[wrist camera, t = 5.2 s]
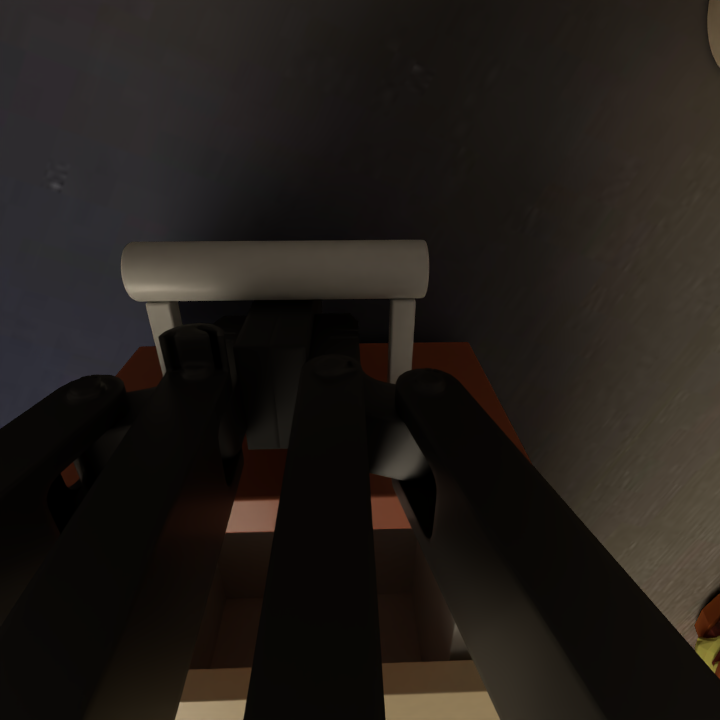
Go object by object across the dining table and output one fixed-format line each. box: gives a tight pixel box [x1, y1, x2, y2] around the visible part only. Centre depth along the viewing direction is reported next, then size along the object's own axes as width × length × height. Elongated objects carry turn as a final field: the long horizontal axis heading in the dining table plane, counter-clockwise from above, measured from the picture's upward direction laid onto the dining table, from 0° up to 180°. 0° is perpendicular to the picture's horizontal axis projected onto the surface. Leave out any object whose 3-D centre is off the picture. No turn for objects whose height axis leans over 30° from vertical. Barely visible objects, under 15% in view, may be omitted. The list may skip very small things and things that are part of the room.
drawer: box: [61, 240, 532, 669], centre depth 16 cm, size 20×13×8 cm, turn 0°
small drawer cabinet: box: [175, 660, 500, 720], centre depth 21 cm, size 16×14×10 cm
